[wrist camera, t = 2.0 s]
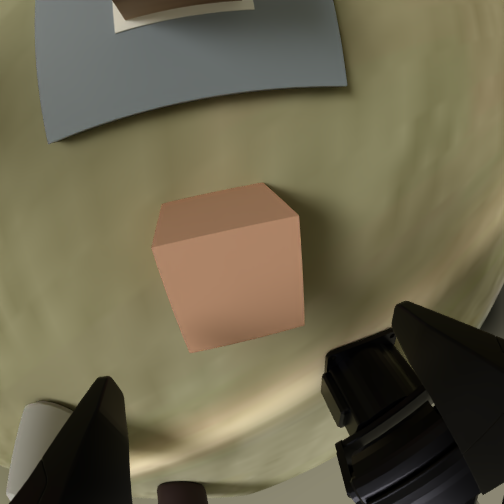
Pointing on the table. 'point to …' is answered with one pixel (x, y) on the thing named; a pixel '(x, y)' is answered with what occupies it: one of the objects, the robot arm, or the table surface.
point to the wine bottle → (181, 493)
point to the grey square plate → (176, 56)
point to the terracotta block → (231, 265)
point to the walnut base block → (155, 6)
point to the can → (34, 440)
